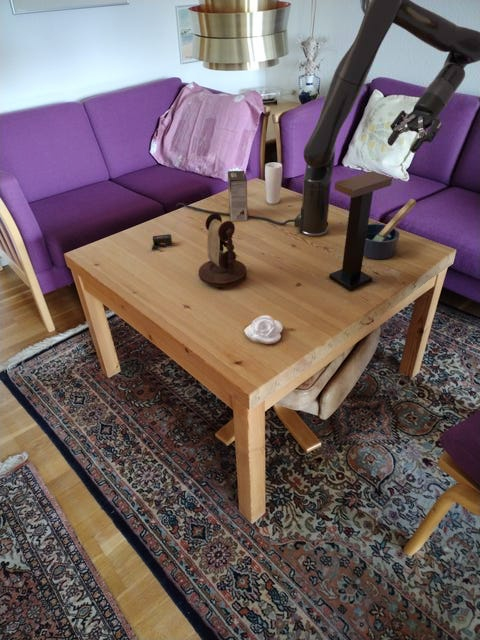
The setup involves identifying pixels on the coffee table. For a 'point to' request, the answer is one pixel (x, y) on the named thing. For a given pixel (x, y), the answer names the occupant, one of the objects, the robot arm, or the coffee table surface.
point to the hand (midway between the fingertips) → (400, 147)
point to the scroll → (221, 255)
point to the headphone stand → (357, 226)
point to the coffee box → (237, 195)
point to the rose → (264, 330)
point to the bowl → (380, 243)
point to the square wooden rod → (395, 220)
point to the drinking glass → (273, 182)
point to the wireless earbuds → (161, 241)
